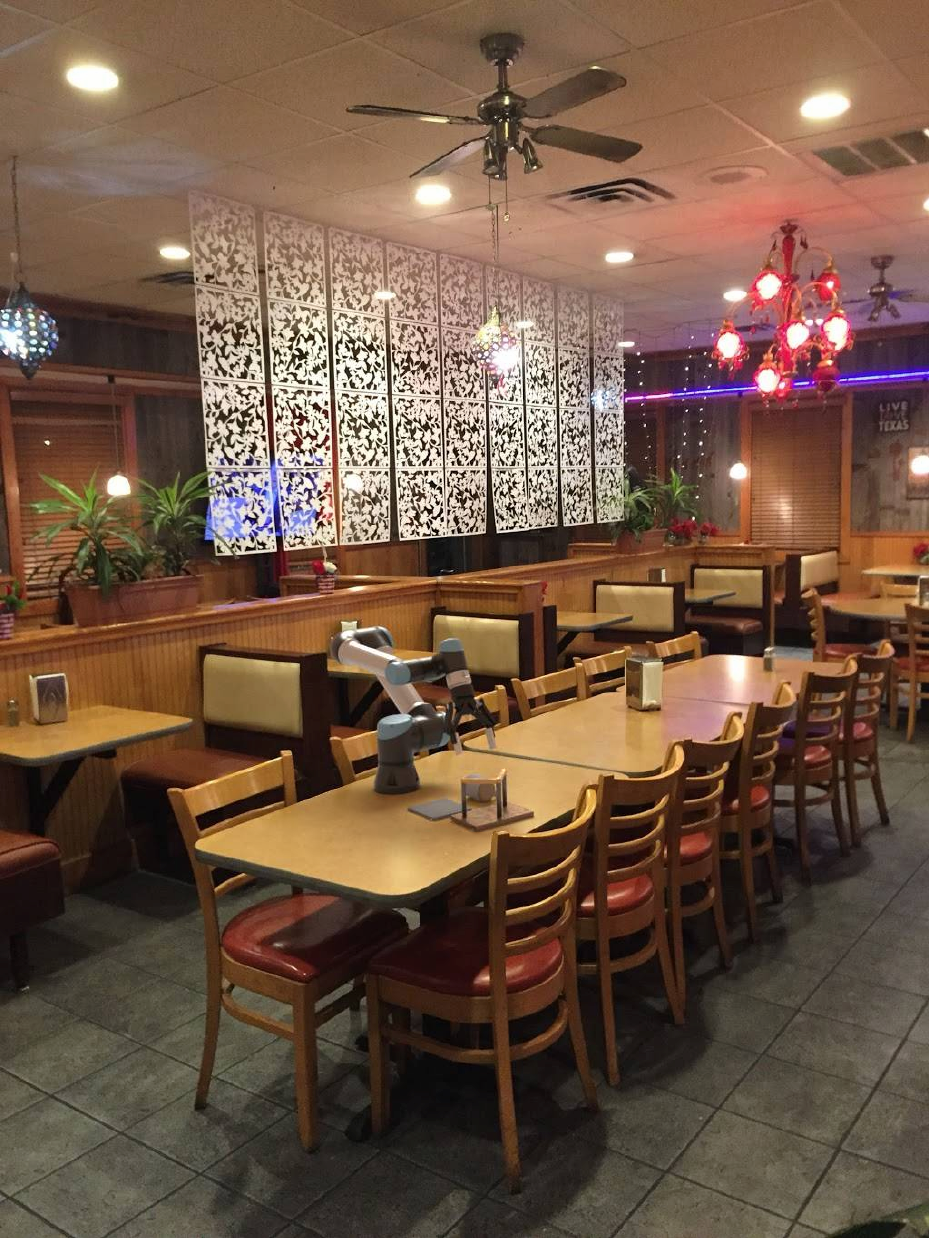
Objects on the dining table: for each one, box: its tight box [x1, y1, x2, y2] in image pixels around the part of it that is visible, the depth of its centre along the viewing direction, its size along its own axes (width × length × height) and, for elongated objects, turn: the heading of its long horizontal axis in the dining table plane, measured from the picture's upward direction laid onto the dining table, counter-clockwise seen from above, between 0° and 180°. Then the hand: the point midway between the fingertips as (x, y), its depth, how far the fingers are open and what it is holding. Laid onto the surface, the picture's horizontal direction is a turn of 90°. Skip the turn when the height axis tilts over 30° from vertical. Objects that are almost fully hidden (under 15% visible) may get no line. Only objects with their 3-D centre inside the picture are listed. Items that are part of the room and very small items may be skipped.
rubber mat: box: [407, 797, 473, 821], centre depth 301 cm, size 14×14×1 cm
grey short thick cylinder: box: [465, 772, 497, 803], centre depth 311 cm, size 11×8×8 cm
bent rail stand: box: [449, 768, 535, 832], centre depth 291 cm, size 13×21×13 cm, turn 126°
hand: (476, 751), depth 310 cm, fingers open, 13 cm apart
